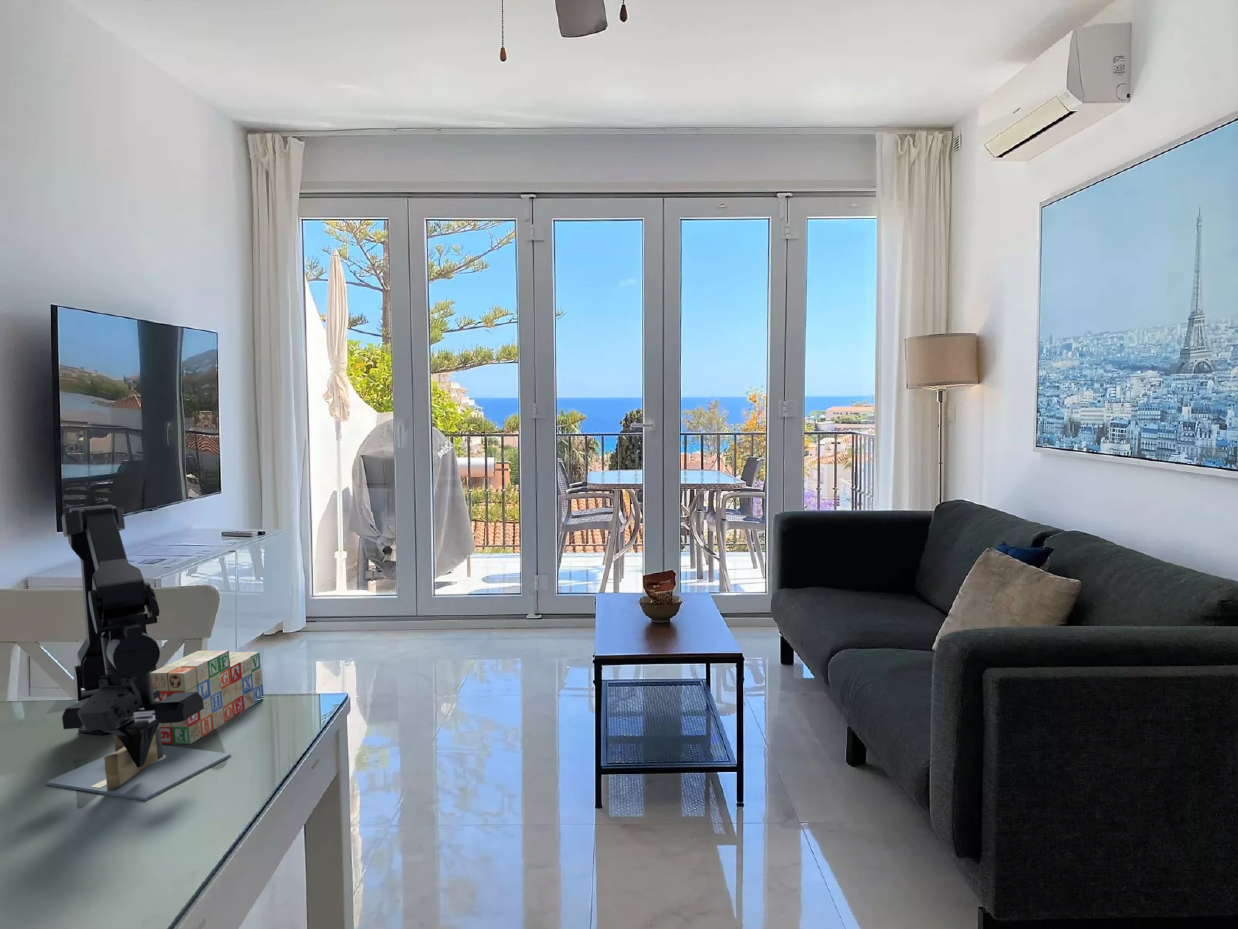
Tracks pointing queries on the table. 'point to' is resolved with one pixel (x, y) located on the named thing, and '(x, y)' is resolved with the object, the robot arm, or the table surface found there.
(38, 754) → the table surface
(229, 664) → the stack of blocks
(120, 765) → the folding fence panel
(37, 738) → the table surface
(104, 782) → the board
